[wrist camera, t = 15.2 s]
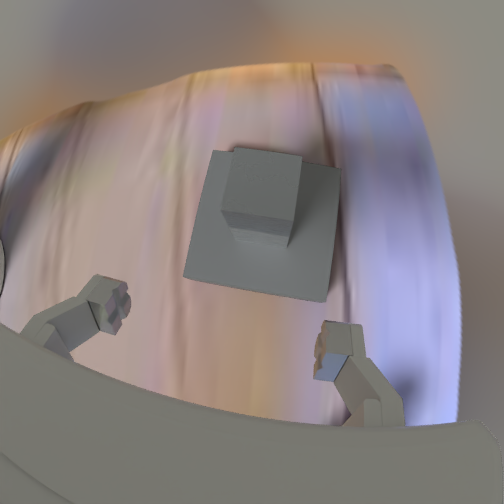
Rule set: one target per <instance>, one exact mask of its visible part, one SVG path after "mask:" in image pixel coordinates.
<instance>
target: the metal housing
mask: <svg viewBox="0 0 504 504" xmlns="http://www.w3.org/2000/svg"><path fill="white" fill-rule="evenodd" d="M302 157H303V156H297V155H291V154H284V153H277V152H270V151H263V150H255V149H247V148H238V147H235V148H234V153H233V157H232V161H231V165H230V169H229V173H228V178H227V182H226V186H225V191H224V195H223V199H222V204H221V208H220V210H221V212H222V214H223V216H224V218H225V220H226V222H227V224H228V226H229V228H230V230H231V232H232V234H233V236H234V238H235V240H241V241H247V242H253V243H259V244H265V245H271V246H277V247H283V248H287V244H288V240H289V236H290V233H291V229H292V225H293V221H294V214H295V207H296V201H297V194H298V186H299V179H300V172H301V164H302Z"/></svg>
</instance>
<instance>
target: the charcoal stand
mask: <svg viewBox="0 0 504 504" xmlns="http://www.w3.org/2000/svg"><path fill="white" fill-rule="evenodd" d="M233 153H234V152H227V151H218V150H213V152H212V156H211V160H210V163H209V167H208V171H207V175H206V179H205V182H204V186H203V190H202V194H201V198H200V202H199V206H198V211H197V215H196V219H195V223H194V228H193V232H192V236H191V241H190V245H189V250H188V255H187V259H186V264H185V269H184V274H183V277H185V278H188V279H191V280H195V281H201V282H206V283H211V284H216V285H221V286H227V287H232V288H237V289H243V290H248V291H254V292H260V293H265V294H271V295H277V296H283V297H289V298H295V299H301V300H307V301H314V302H320V303H322V302H326V298H327V292H328V285H329V279H330V272H331V264H332V257H333V249H334V241H335V232H336V223H337V214H338V204H339V193H340V180H341V169H339V168H334V167H329V166H324V165H318V164H313V163H307V162H302V164H301V172H300V179H299V186H298V194H297V201H296V207H295V214H294V221H293V225H292V229H291V233H290V236H289V240H288V244H287V248H283V247H277V246H271V245H265V244H259V243H253V242H247V241H241V240H235V238H234V236H233V234H232V232H231V230H230V228H229V226H228V224H227V222H226V220H225V218H224V216H223V214H222V212H221V210H220V208H221V204H222V199H223V195H224V191H225V186H226V182H227V178H228V173H229V169H230V165H231V161H232V157H233Z"/></svg>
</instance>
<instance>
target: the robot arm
mask: <svg viewBox="0 0 504 504" xmlns="http://www.w3.org/2000/svg"><path fill="white" fill-rule="evenodd" d="M3 278H4V251H3V246H2V242H1V240H0V293H1V289H2V284H3ZM127 290H128V286H127V283H126V282H124V281H120V280H117V279H113V278H110V277H105V276H102V275H98V274H96V275H94V276H93V277H92V278H91V280H90V281H89V282H88V283H87V284H86V286H85V287H84V288H83V289H82V290H81V292H80V293H79V294H78V295H77V297H71V298H69V299H67V300H65V301H63V302H61V303H59V304H57V305H55V306H52V307H50V308H48V309H46V310H44V311H42V312H40V313H38V314H36V315H34V316H33V317H32V318H31V320H30V321H29V322H28V323H27V325H26V326H25V327H24V329H23V330H22V331H21V333H20V334H19V333H17V332H15V331H13V330H12V329H10V328H8V327H7V326H5V325H3V324H2V323H0V504H503V466H502V455H501V449H500V445H499V442H498V441H497V439H496V438H495V436H494V435H493V434H492V433H491V432H490V431H489V429H488V428H487V427H486V426H485V425H484V424H483V423H482V422H481V421H479V420H467V421H460V422H453V423H444V424H433V425H421V426H405V419H404V409H403V401H402V398H401V397H400V395H399V394H398V393H397V392H396V390H395V389H394V388H393V387H392V385H391V384H390V383H389V382H388V380H387V379H386V378H385V377H384V375H383V374H382V373H381V372H380V370H379V369H378V368H377V367H376V365H375V364H374V363H373V362H372V360H371V359H370V358H366V351H365V343H364V335H363V328H362V325H360V324H352V323H344V322H336V321H328V320H324V322H323V324H322V326H321V333H319V334H318V337H317V340H316V344H315V351H314V357H315V358H316V362H315V364H314V375H313V379H315V380H322V381H330V382H334V385H335V386H336V388H337V390H338V392H339V394H340V395H341V397H342V399H343V401H344V402H345V404H346V406H347V408H348V410H349V411H350V413H351V416H350V417H349V419H348V420H347V421H346V422H345V423H344V424H343V425H342V426H332V425H319V424H308V423H298V422H290V421H282V420H275V419H268V418H261V417H255V416H250V415H244V414H239V413H234V412H229V411H224V410H220V409H215V408H211V407H206V406H202V405H198V404H194V403H190V402H187V401H183V400H179V399H176V398H172V397H169V396H165V395H162V394H159V393H155V392H152V391H149V390H146V389H143V388H140V387H137V386H134V385H131V384H128V383H126V382H123V381H120V380H117V379H115V378H112V377H110V376H107V375H104V374H102V373H99V372H97V371H95V370H92V369H90V368H87V367H85V366H83V365H80V364H78V363H76V362H74V359H73V358H72V356H71V354H70V353H69V352H70V351H72V350H73V349H75V348H76V347H78V346H79V345H81V344H82V343H84V342H85V341H87V340H88V339H89V338H91V337H92V336H94V335H95V334H97V333H98V332H99V331H102V332H106V333H109V334H112V335H116V334H117V332H118V330H119V329H120V327H121V325H122V321H121V320H122V319H124V318H126V317H127V316H128V314H129V312H130V308H131V298H130V296H129V295H128V293H127V292H126V291H127Z"/></svg>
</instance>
